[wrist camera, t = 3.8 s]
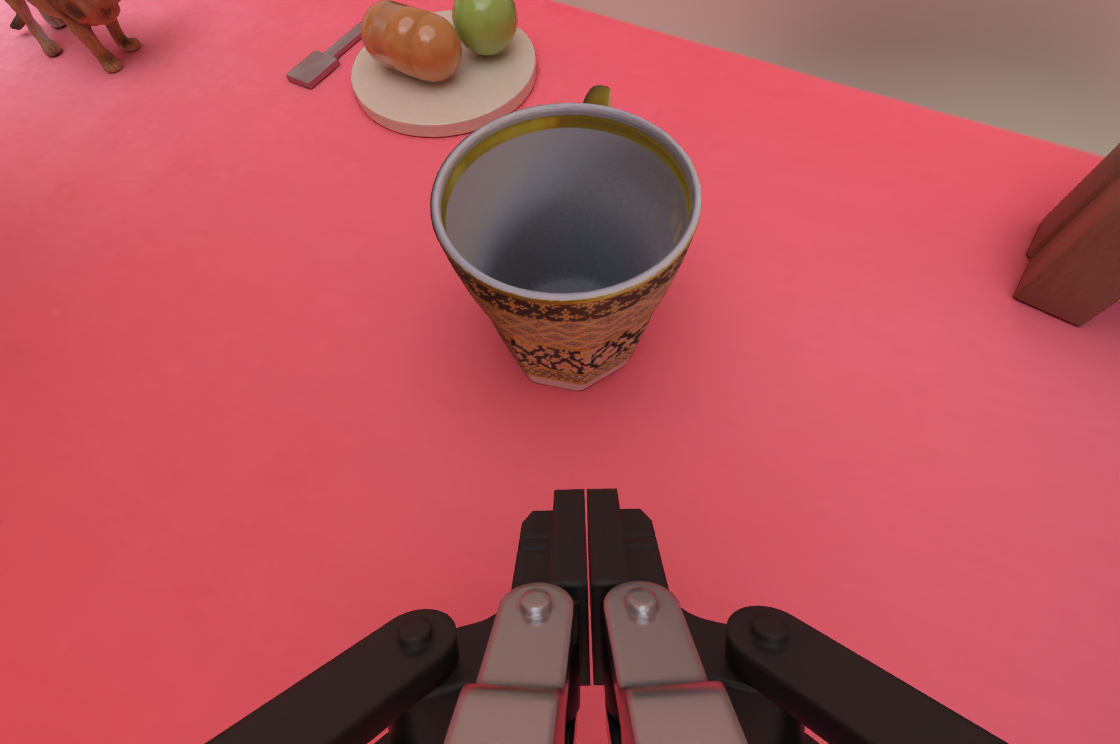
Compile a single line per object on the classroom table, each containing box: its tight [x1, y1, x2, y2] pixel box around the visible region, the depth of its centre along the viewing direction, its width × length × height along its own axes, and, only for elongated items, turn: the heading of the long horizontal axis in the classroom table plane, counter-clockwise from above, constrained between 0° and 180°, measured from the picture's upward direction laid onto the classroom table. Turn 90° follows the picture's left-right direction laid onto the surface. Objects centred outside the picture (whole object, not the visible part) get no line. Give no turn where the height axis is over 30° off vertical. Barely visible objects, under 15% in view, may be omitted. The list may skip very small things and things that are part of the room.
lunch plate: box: [351, 0, 537, 137], centre depth 38 cm, size 13×13×5 cm
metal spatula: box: [286, 0, 392, 89], centre depth 42 cm, size 11×2×1 cm, turn 150°
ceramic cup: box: [430, 85, 702, 391], centre depth 26 cm, size 13×10×10 cm
